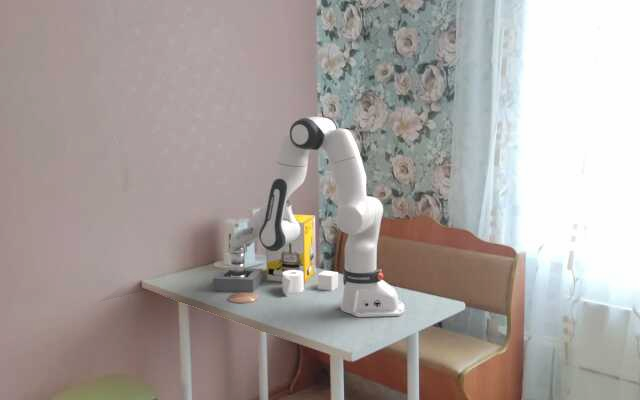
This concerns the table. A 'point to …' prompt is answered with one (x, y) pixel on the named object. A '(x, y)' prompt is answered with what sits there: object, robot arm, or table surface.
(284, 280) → the toilet paper
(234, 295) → the terracotta coaster
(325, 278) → the white cube
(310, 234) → the packaging box
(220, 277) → the charcoal collar
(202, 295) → the table surface
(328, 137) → the robot arm
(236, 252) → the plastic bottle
